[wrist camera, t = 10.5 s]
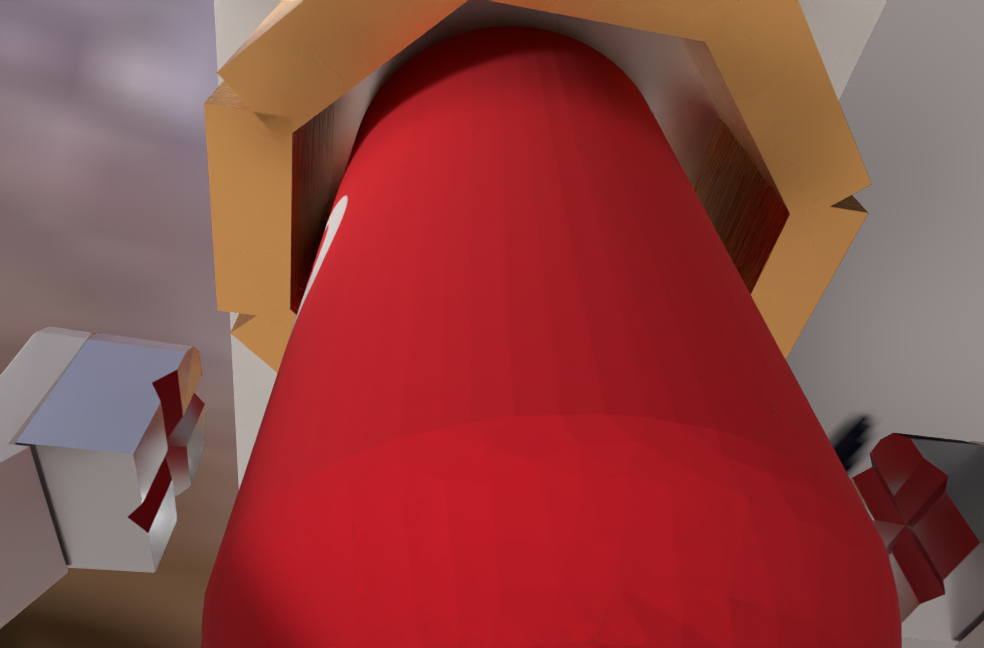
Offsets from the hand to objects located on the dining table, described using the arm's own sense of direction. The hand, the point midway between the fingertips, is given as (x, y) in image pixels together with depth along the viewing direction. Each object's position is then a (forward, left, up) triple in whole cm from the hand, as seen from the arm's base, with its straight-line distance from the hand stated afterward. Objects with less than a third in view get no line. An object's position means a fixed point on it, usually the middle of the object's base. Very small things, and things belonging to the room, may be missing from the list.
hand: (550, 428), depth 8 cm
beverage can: (0, 0, -8) cm, 8 cm away
